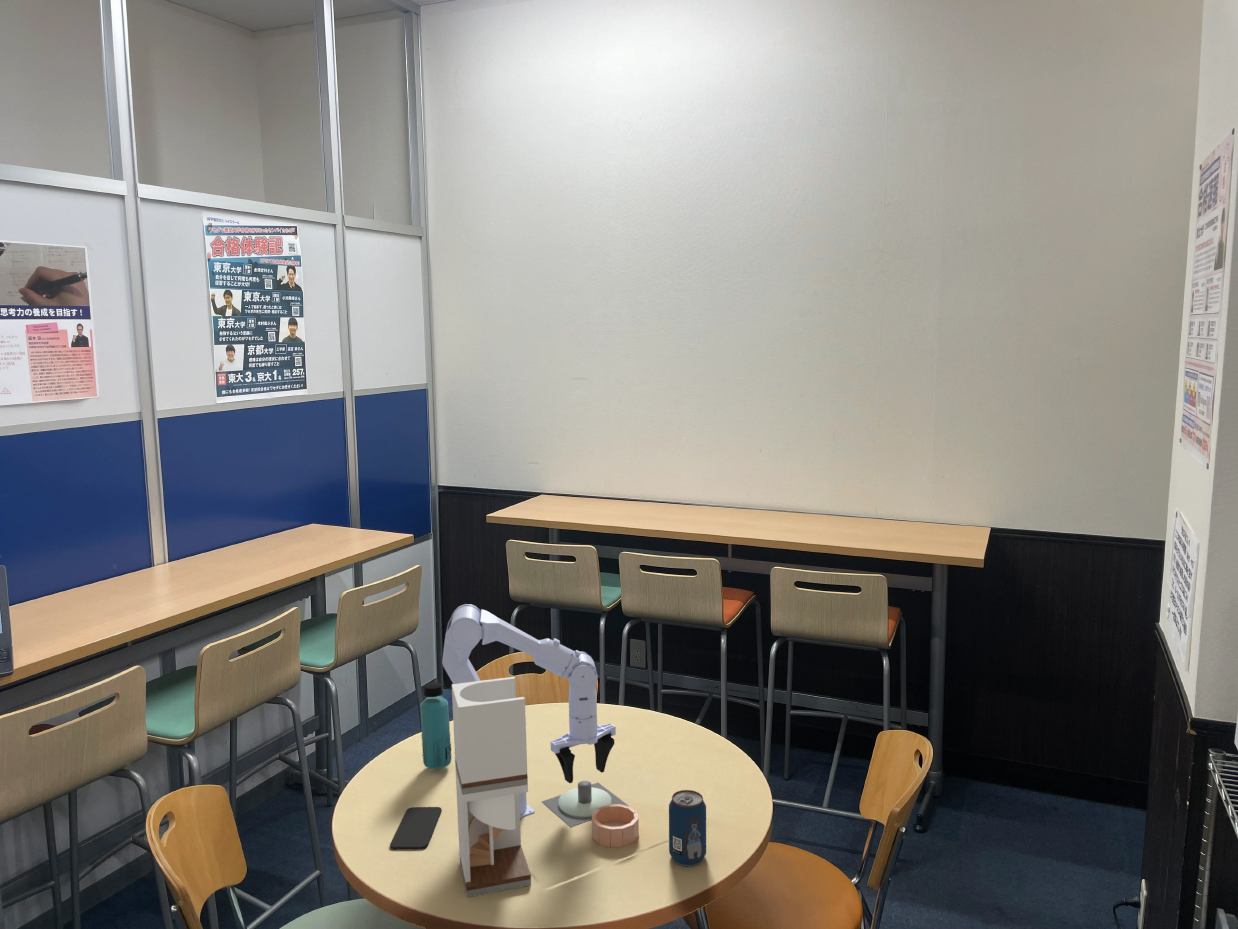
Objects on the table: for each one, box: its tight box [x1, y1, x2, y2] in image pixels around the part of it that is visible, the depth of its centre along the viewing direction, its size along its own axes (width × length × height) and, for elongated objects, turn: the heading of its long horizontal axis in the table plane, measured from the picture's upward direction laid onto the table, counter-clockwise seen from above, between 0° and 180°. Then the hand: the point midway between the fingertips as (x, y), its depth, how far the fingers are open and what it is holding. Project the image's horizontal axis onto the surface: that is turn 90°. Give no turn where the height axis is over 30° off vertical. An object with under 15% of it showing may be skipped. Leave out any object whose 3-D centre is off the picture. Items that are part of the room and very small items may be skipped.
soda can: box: [668, 789, 707, 867], centre depth 169 cm, size 7×7×12 cm
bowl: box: [591, 804, 640, 848], centre depth 177 cm, size 9×9×4 cm
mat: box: [541, 782, 630, 828], centre depth 189 cm, size 14×12×1 cm
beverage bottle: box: [419, 681, 452, 770], centre depth 204 cm, size 6×7×20 cm
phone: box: [389, 806, 443, 851], centre depth 181 cm, size 7×1×15 cm
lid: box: [558, 780, 611, 818], centre depth 188 cm, size 11×11×4 cm
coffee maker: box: [451, 676, 532, 898], centre depth 163 cm, size 11×11×35 cm
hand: (584, 775), depth 188 cm, fingers open, 7 cm apart
